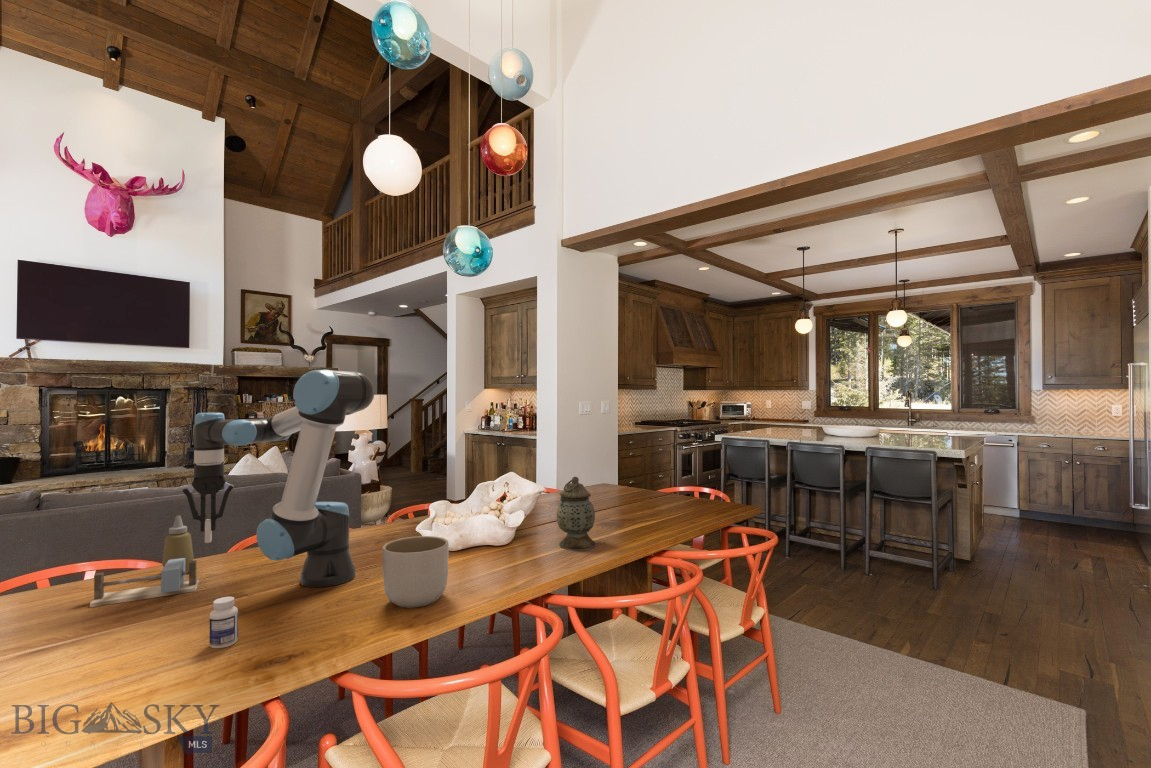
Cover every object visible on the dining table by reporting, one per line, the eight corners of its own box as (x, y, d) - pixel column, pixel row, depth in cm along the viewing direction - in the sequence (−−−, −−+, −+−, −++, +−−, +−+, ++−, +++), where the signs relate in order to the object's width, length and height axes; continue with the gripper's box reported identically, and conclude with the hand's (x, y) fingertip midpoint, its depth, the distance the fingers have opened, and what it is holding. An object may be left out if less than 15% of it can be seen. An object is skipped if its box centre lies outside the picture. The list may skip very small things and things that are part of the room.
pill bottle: (218, 638, 124) (218, 595, 124) (242, 637, 124) (243, 594, 124) (204, 649, 118) (204, 604, 118) (229, 648, 119) (230, 603, 119)
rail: (198, 582, 162) (198, 557, 162) (195, 591, 155) (195, 564, 155) (98, 597, 150) (98, 570, 151) (89, 607, 143) (89, 578, 144)
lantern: (596, 550, 190) (595, 479, 191) (556, 551, 190) (555, 479, 191) (595, 540, 204) (594, 473, 205) (557, 540, 204) (557, 474, 205)
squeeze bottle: (176, 578, 166) (177, 519, 167) (155, 576, 168) (155, 518, 168) (200, 569, 174) (200, 513, 175) (179, 568, 176) (179, 512, 176)
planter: (388, 618, 134) (387, 556, 134) (378, 596, 149) (378, 540, 149) (456, 605, 141) (455, 547, 142) (440, 585, 157) (440, 533, 157)
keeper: (185, 577, 162) (185, 557, 162) (178, 590, 151) (179, 568, 151) (168, 580, 160) (168, 559, 160) (161, 593, 149) (161, 571, 149)
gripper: (235, 460, 170) (234, 536, 170) (184, 463, 164) (183, 541, 164) (233, 463, 164) (232, 541, 163) (180, 466, 158) (179, 547, 157)
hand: (208, 541), depth 164 cm, fingers closed
